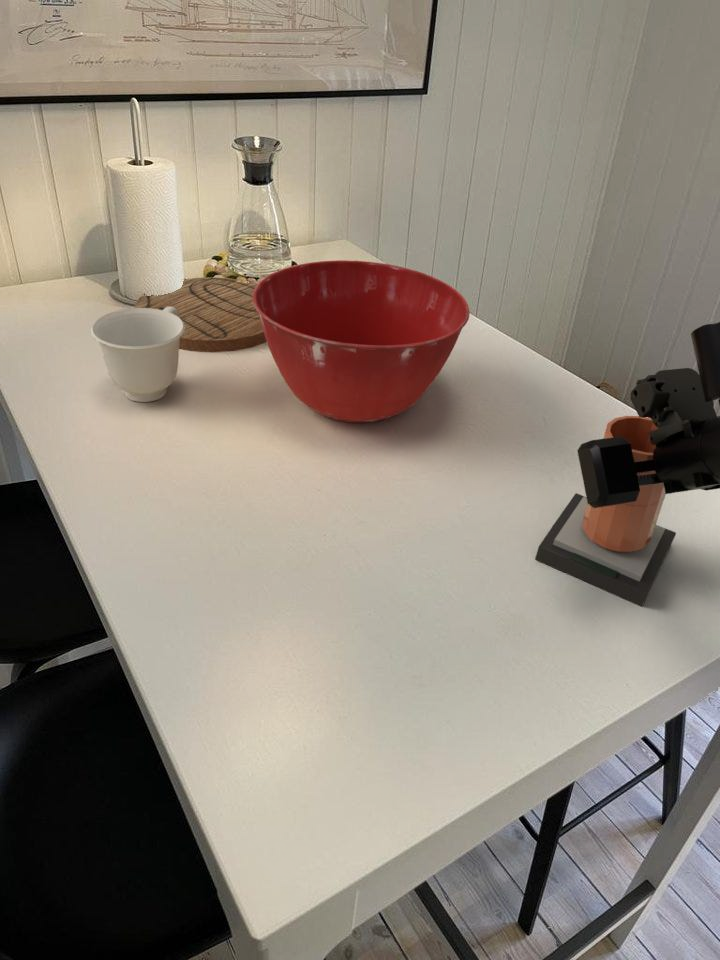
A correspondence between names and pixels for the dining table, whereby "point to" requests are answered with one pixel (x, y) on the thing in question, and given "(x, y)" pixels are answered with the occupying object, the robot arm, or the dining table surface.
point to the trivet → (213, 314)
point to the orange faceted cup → (633, 520)
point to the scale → (603, 556)
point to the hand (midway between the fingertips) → (621, 476)
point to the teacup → (140, 349)
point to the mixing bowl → (358, 334)
